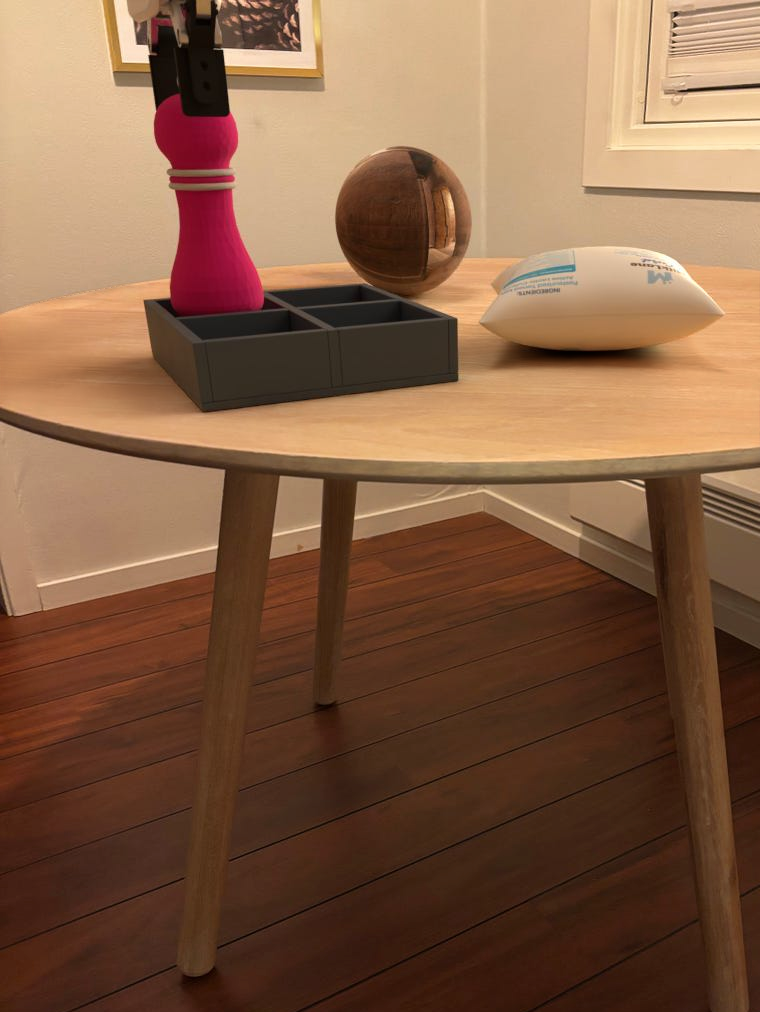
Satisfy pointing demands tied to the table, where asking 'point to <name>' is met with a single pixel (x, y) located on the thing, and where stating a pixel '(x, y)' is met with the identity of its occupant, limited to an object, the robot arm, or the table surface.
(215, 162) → the pepper mill
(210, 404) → the compartment tray
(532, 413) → the table surface
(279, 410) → the table surface
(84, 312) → the table surface
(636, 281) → the pouch
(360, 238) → the shiny brown ball
